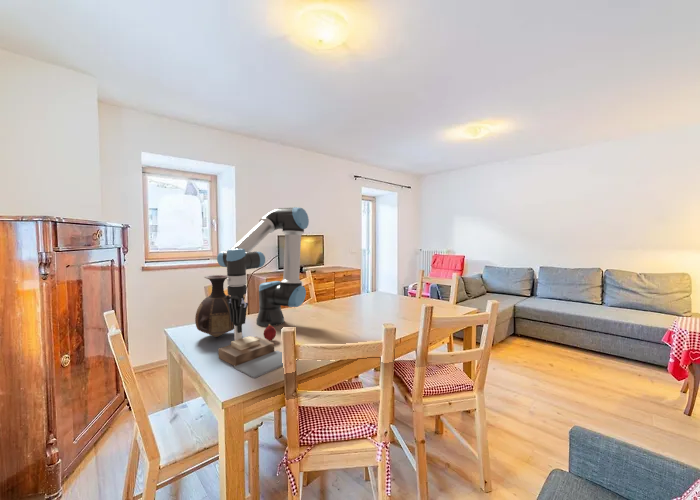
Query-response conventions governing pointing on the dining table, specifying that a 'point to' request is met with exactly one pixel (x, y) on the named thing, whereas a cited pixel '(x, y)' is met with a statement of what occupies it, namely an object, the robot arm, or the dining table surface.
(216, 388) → the dining table surface
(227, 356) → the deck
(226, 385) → the dining table surface
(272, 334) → the onion
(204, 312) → the vase
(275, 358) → the mat
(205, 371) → the dining table surface
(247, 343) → the tile
